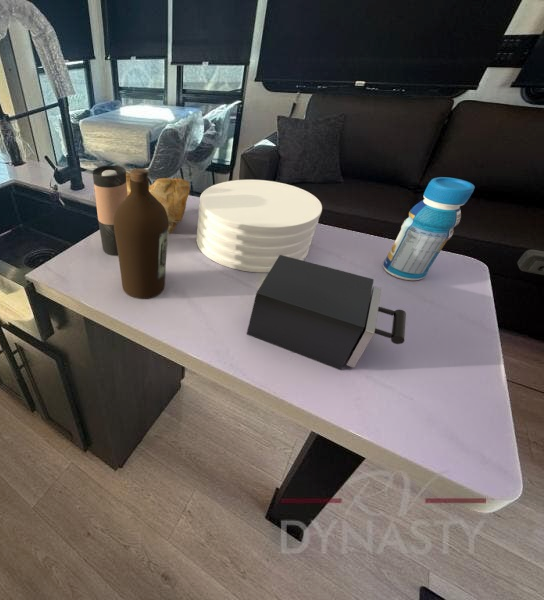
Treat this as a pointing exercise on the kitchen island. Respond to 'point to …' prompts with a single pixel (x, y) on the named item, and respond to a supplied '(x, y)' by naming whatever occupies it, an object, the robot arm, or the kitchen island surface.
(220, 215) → the plate stack
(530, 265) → the robot arm
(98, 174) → the travel mug
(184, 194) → the crumpled paper bag
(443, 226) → the beverage bottle
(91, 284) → the kitchen island surface
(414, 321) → the kitchen island surface
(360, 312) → the cabinet
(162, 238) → the olive oil
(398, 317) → the drawer
